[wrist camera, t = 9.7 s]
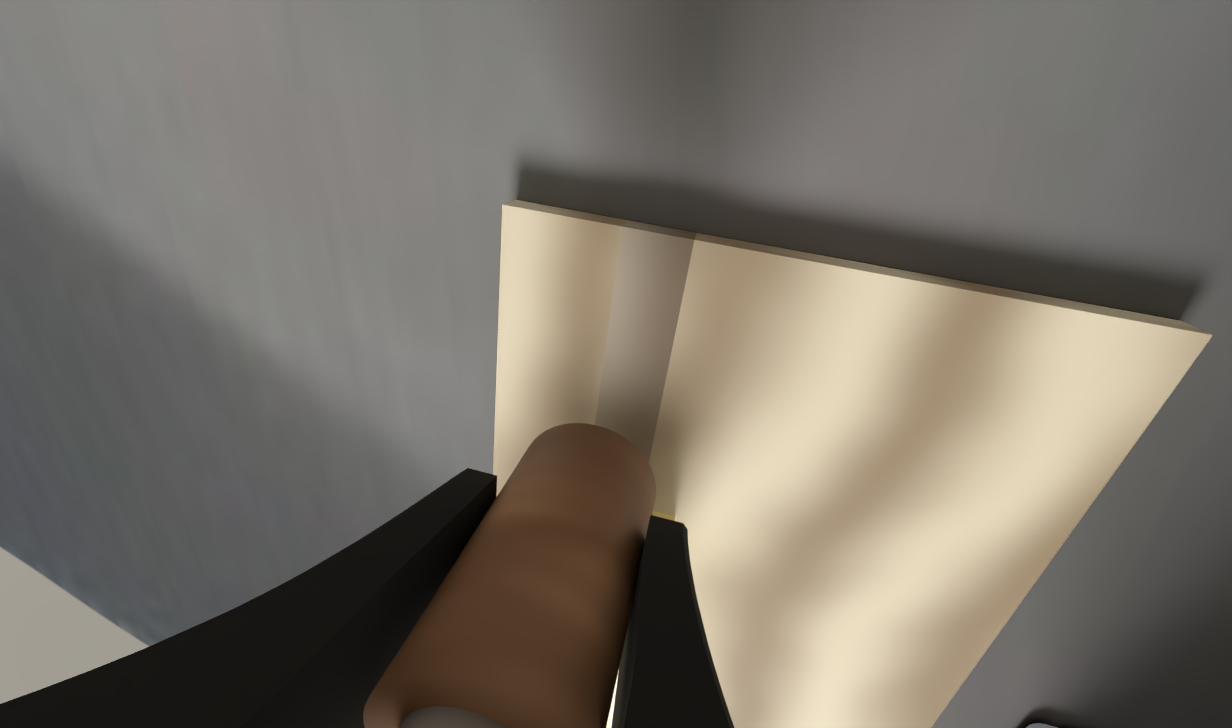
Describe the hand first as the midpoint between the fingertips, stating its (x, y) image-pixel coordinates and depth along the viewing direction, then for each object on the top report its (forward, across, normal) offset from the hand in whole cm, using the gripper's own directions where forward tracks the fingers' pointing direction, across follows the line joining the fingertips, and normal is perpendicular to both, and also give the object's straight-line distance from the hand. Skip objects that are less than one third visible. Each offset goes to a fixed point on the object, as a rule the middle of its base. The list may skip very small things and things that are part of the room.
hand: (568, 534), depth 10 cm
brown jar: (+2, 0, 0) cm, 2 cm away
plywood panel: (+8, -4, +6) cm, 11 cm away
